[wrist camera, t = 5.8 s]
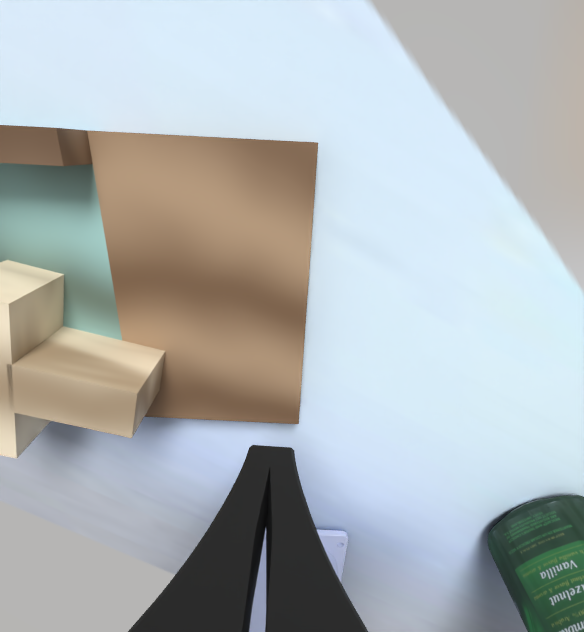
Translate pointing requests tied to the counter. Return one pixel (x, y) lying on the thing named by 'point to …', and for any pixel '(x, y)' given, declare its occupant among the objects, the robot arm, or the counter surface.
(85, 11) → the counter surface
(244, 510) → the robot arm
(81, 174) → the board
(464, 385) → the counter surface
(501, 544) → the coffee jar
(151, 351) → the t block
